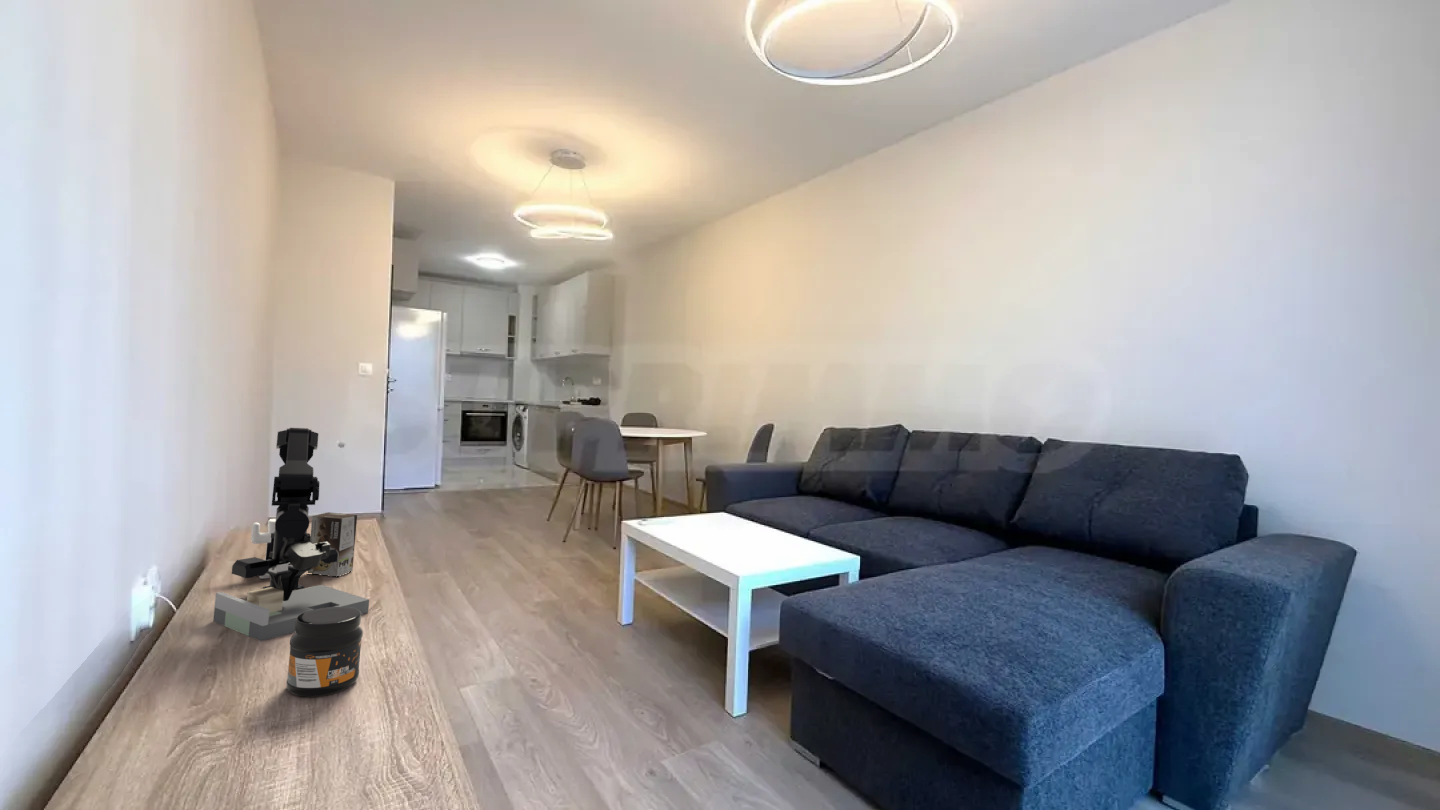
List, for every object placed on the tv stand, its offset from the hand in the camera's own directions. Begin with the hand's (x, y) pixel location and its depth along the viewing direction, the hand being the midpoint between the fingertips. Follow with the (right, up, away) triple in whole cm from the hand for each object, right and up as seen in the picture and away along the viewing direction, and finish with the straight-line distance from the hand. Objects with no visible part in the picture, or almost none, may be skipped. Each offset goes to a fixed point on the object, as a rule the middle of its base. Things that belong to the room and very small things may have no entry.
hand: (285, 600), depth 130 cm
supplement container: (+26, -6, -27) cm, 38 cm away
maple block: (-2, -1, -4) cm, 4 cm away
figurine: (-25, -3, +29) cm, 38 cm away
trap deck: (+1, -4, +2) cm, 5 cm away
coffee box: (-13, -4, +35) cm, 38 cm away
